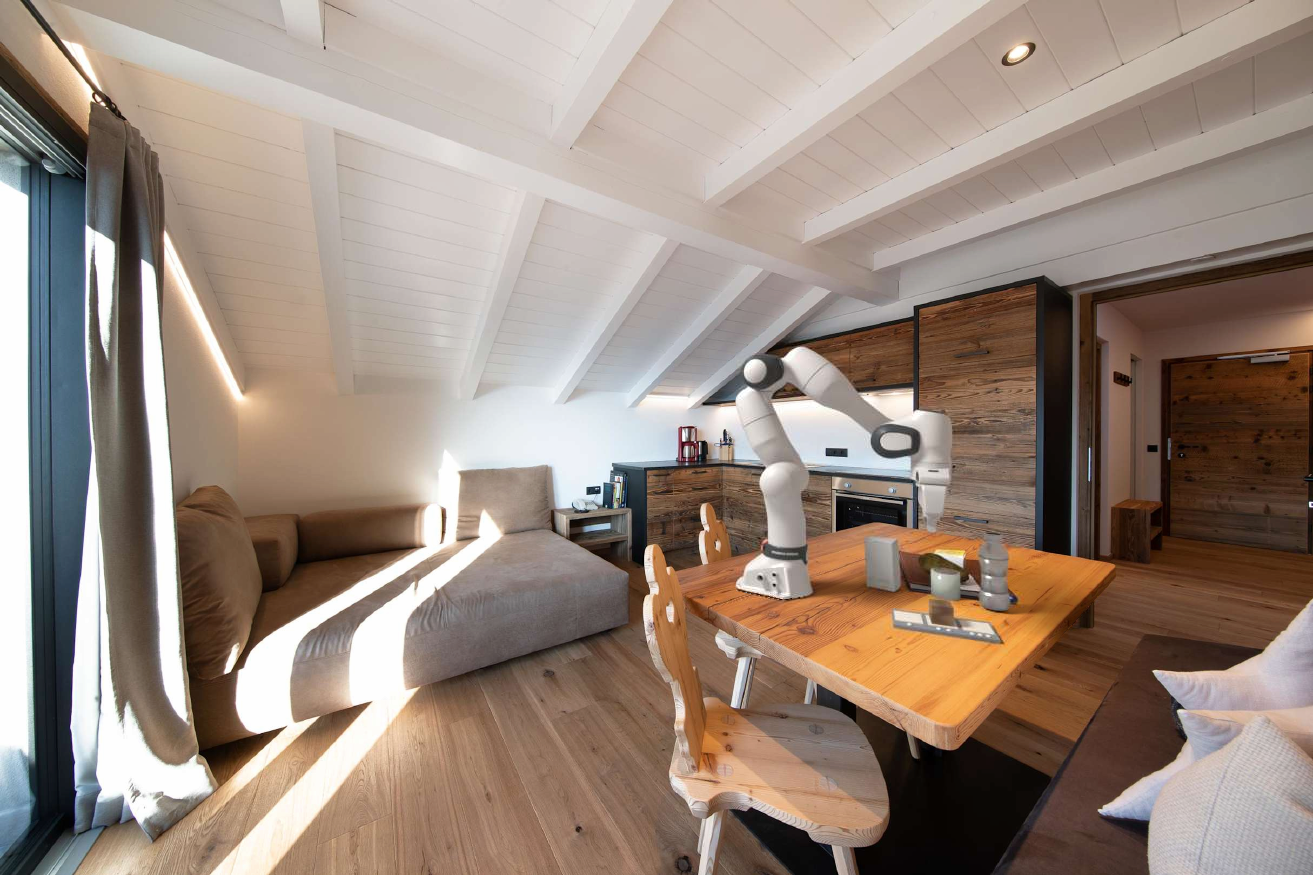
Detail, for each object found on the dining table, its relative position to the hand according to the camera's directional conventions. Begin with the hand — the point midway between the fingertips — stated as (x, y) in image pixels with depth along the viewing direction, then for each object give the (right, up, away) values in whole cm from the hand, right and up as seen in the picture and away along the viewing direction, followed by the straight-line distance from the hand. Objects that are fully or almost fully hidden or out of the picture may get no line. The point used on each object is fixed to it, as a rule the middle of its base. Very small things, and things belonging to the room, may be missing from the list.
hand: (929, 527), depth 112 cm
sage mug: (+13, -22, +14) cm, 30 cm away
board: (0, -23, -5) cm, 24 cm away
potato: (+21, -22, +26) cm, 40 cm away
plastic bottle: (+20, -23, +4) cm, 30 cm away
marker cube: (0, -22, -5) cm, 23 cm away
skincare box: (-1, -23, +22) cm, 31 cm away
